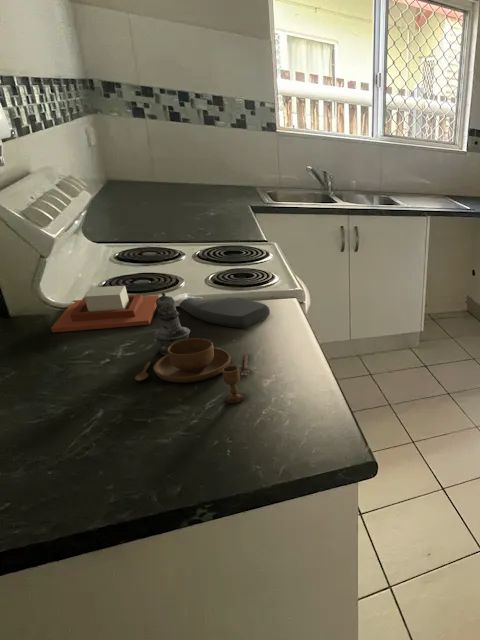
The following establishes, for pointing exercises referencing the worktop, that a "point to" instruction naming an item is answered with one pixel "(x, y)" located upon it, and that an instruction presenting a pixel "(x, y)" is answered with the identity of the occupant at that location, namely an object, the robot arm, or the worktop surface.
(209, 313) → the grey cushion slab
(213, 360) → the place setting
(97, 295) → the beige block
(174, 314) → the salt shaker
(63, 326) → the base pad
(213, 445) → the worktop surface
